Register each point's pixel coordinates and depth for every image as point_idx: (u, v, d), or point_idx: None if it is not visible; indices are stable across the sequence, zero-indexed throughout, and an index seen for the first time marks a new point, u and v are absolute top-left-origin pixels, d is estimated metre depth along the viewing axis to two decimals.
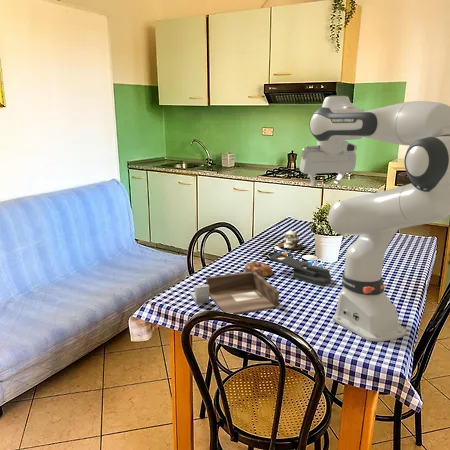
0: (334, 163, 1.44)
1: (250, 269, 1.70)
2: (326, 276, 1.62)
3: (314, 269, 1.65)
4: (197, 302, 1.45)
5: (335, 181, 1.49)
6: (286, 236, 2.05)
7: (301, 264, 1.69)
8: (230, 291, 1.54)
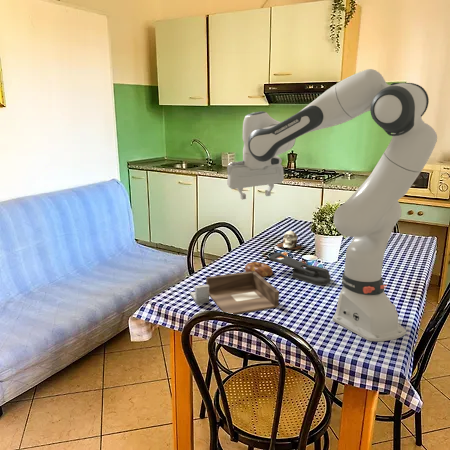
0: (260, 176, 1.48)
1: (250, 269, 1.70)
2: (325, 276, 1.62)
3: (313, 269, 1.65)
4: (197, 302, 1.45)
5: (266, 193, 1.54)
6: (285, 236, 2.05)
7: (300, 264, 1.69)
8: (230, 291, 1.54)
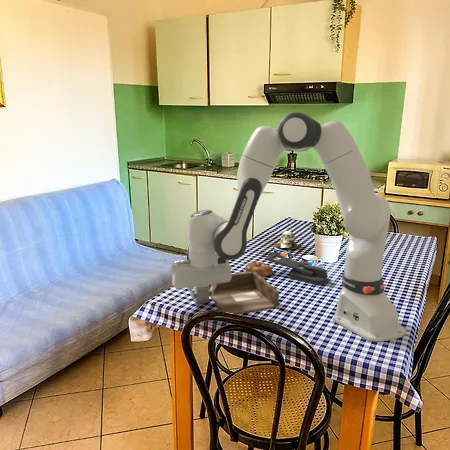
0: (207, 275, 1.42)
1: (250, 269, 1.70)
2: (323, 275, 1.63)
3: (311, 269, 1.65)
4: (197, 302, 1.45)
5: None
6: (283, 236, 2.05)
7: (297, 264, 1.70)
8: (230, 291, 1.54)
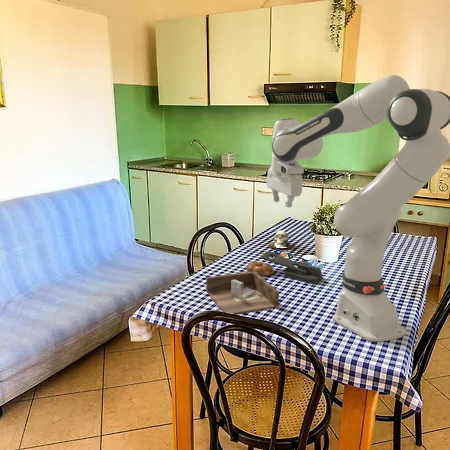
0: (280, 183, 1.50)
1: (251, 268, 1.71)
2: (317, 274, 1.64)
3: (305, 267, 1.66)
4: (231, 295, 1.49)
5: None
6: (276, 236, 2.06)
7: (292, 263, 1.71)
8: (230, 291, 1.54)
